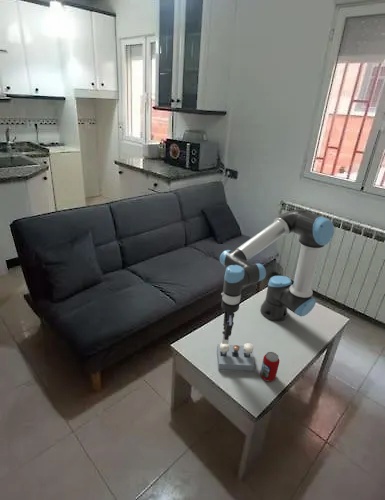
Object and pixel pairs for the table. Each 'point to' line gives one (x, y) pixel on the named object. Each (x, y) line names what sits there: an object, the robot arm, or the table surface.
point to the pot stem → (236, 349)
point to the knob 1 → (224, 348)
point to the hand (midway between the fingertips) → (225, 342)
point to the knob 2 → (248, 348)
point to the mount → (235, 360)
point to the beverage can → (269, 366)
